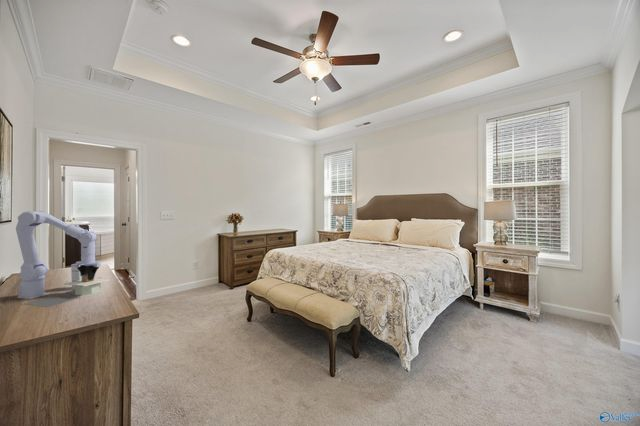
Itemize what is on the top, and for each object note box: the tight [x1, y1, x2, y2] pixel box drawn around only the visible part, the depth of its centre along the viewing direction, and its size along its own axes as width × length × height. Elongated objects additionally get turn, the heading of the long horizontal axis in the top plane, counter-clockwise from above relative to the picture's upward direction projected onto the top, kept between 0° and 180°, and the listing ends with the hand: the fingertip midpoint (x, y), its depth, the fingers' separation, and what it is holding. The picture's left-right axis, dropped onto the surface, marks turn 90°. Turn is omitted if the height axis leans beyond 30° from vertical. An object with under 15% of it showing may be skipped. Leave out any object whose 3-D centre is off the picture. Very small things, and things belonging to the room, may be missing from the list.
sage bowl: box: [74, 282, 102, 296], centre depth 141 cm, size 10×10×5 cm
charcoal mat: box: [23, 294, 81, 308], centre depth 128 cm, size 16×14×1 cm
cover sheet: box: [63, 274, 110, 286], centre depth 141 cm, size 13×13×4 cm
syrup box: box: [70, 263, 82, 290], centre depth 148 cm, size 6×6×14 cm
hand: (88, 279), depth 141 cm, fingers closed on cover sheet, 3 cm apart
